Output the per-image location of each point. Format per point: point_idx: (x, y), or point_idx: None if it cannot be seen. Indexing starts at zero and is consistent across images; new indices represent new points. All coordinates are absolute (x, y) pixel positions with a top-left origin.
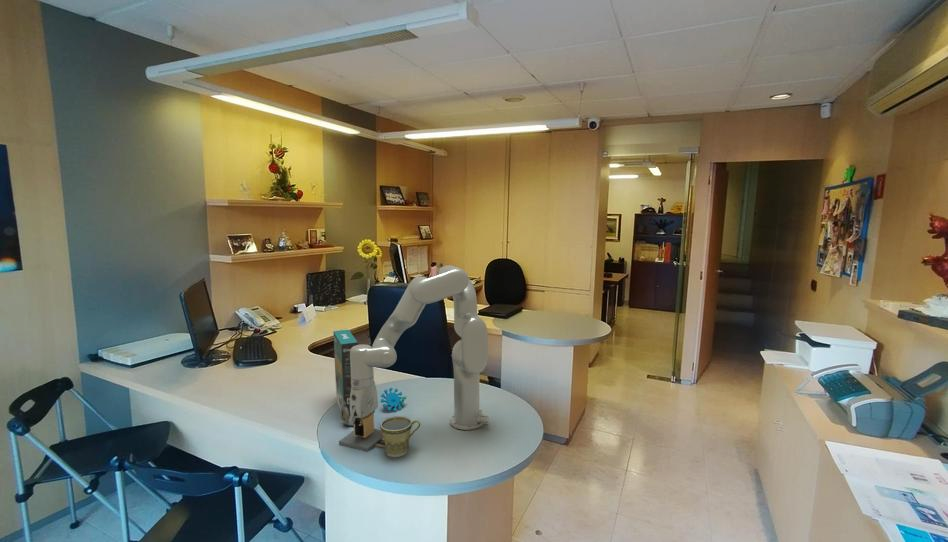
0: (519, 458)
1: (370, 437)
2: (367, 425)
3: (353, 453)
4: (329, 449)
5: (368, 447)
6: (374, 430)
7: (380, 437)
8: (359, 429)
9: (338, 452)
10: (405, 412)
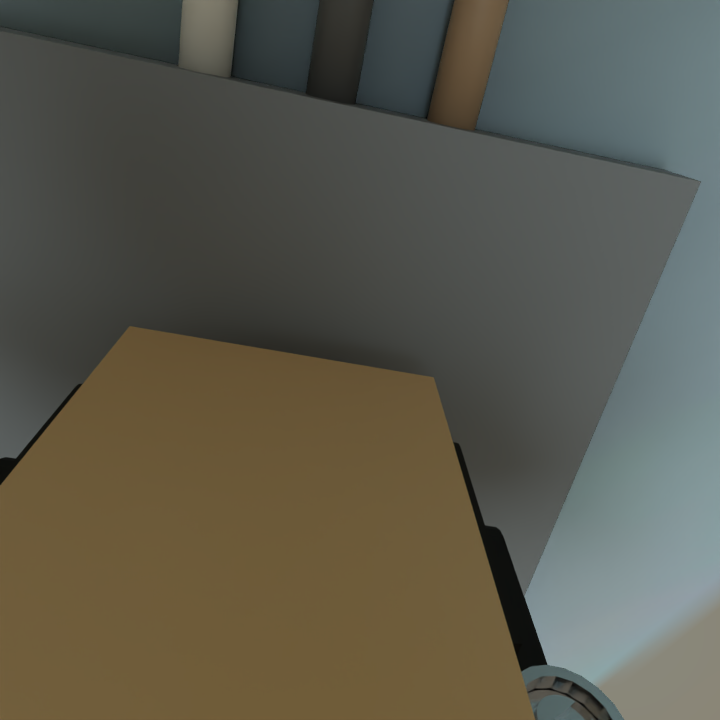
0: None
1: (288, 317)
2: (366, 525)
3: (707, 382)
4: (597, 676)
5: (673, 185)
6: (8, 360)
7: (231, 104)
8: (529, 612)
9: (670, 567)
10: None
